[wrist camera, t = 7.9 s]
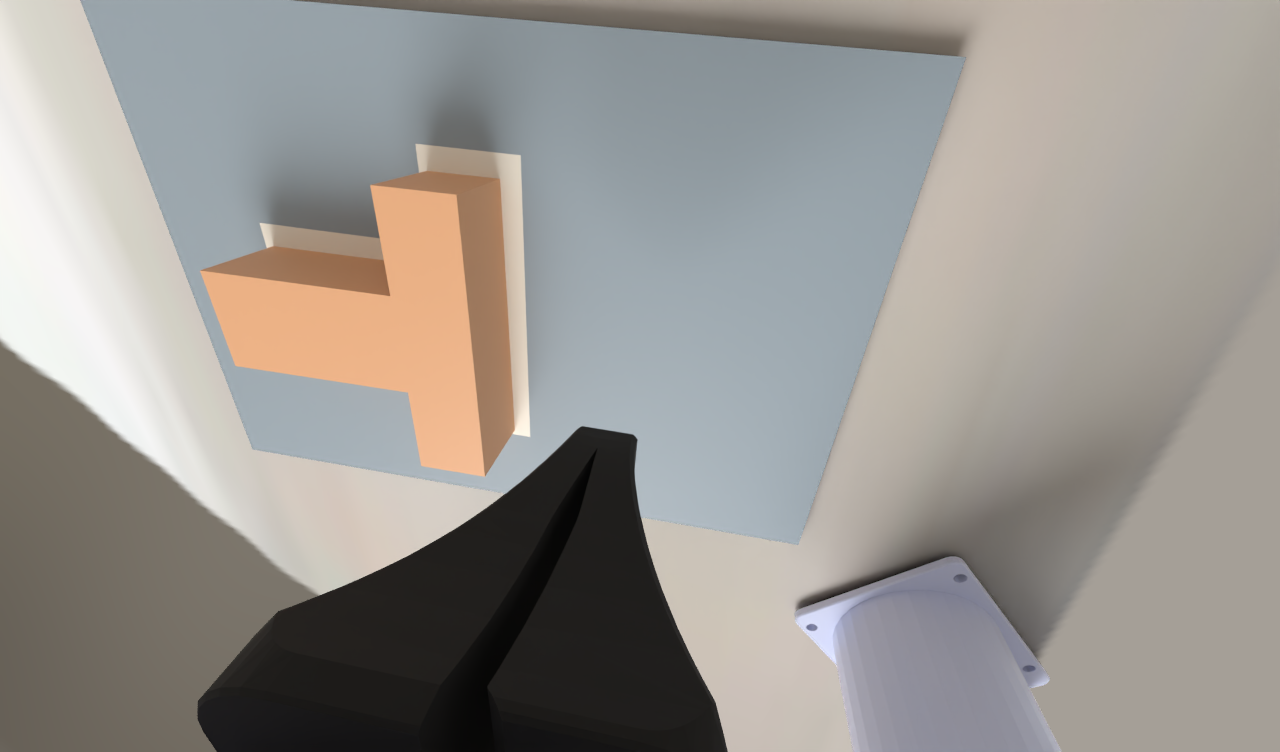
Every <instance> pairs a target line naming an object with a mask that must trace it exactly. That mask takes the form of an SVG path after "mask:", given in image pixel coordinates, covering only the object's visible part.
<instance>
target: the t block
mask: <svg viewBox="0 0 1280 752" xmlns="http://www.w3.org/2000/svg"><path fill="white" fill-rule="evenodd" d="M370 187H371V192H372V198H373V203H374V209H375V214H376V220H377V225H378V231H379V236H380V242H381V247H382V253H383V258H384V260H378V259H370V258H362V257H354V256H346V255H339V254H331V253H323V252H315V251H307V250H300V249H292V248H284V247H276V246H272V247H269V248H266V249H263V250H260V251H257V252H254V253H251V254H248V255H245V256H242V257H239V258H236V259H233V260H230V261H227V262H224V263H221V264H218V265H215V266H212V267H209V268H206V269H203V270H200V272H201V275H202V278H203V280H204V283H205V286H206V288H207V291H208V294H209V296H210V299H211V302H212V305H213V307H214V310H215V313H216V315H217V318H218V321H219V323H220V326H221V329H222V331H223V334H224V337H225V339H226V342H227V345H228V348H229V350H230V353H231V356H232V358H233V361H234V364H235V366H238V367H245V368H251V369H258V370H264V371H271V372H277V373H284V374H290V375H297V376H303V377H310V378H316V379H323V380H329V381H336V382H342V383H349V384H355V385H362V386H368V387H375V388H381V389H388V390H394V391H401V392H407V393H408V396H409V402H410V407H411V413H412V418H413V424H414V429H415V435H416V440H417V446H418V451H419V457H420V462H421V466H424V467H430V468H436V469H441V470H447V471H453V472H459V473H465V474H471V475H477V476H483V477H485V476H486V474H487V473H488V471H489V470H490V468H491V467H492V465H493V464H494V462H495V460H496V459H497V457H498V456H499V454H500V453H501V451H502V449H503V448H504V446H505V445H506V443H507V442H508V440H509V438H510V437H511V435H512V434H513V432H514V431H515V425H514V408H513V391H512V374H511V357H510V340H509V323H508V306H507V289H506V272H505V255H504V238H503V221H502V204H501V187H500V179H497V178H488V177H479V176H470V175H461V174H451V173H442V172H433V171H424V172H420V173H416V174H412V175H408V176H404V177H400V178H396V179H392V180H388V181H384V182H380V183H376V184H372V185H370Z"/></svg>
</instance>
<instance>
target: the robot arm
mask: <svg viewBox="0 0 1280 752" xmlns="http://www.w3.org/2000/svg"><path fill="white" fill-rule="evenodd" d="M637 441H638V439H637V438H636V437H635V436H634V435H633V434H628V433H622V432H616V431H610V430H603V429H597V428H591V427H585V426H581V427H580V428H578V429H577V430H576V431H575V432H574V433H573V434H572V435H571V436H570V437H569V438H568V439H567V440H566V441H565V442H564V443H563V444H562V445H561V446H560V447H559V448H558V449H557V450H556V451H555V452H554V453H552V454H551V455H550V456H549V457H548V458H547V459H546V460H545V461H544V462H543V463H542V464H540V465H539V466H538V467H537V468H536V469H535V470H534V471H532V472H531V473H530V474H529V475H528V476H527V477H526V478H524V479H523V480H522V481H521V482H520V483H518V484H517V485H516V486H515V487H513V488H512V489H511V490H509V491H508V492H507V493H506V494H504V495H503V496H502V497H501V498H499V499H498V500H497V501H495V502H494V503H493V504H491V505H490V506H489V507H487V508H486V509H484V510H483V511H482V512H480V513H479V514H477V515H476V516H474V517H473V518H471V519H470V520H468V521H467V522H465V523H464V524H462V525H461V526H459V527H458V528H456V529H454V530H453V531H451V532H449V533H448V534H446V535H444V536H443V537H441V538H439V539H438V540H436V541H434V542H432V543H430V544H429V545H427V546H425V547H423V548H422V549H420V550H418V551H416V552H414V553H413V554H411V555H409V556H407V557H405V558H403V559H401V560H399V561H397V562H395V563H393V564H391V565H389V566H387V567H385V568H383V569H380V570H378V571H376V572H374V573H372V574H369V575H367V576H365V577H363V578H361V579H359V580H356V581H354V582H352V583H349V584H347V585H345V586H342V587H340V588H337V589H335V590H332V591H330V592H327V593H325V594H322V595H320V596H317V597H315V598H312V599H310V600H307V601H305V602H302V603H299V604H297V605H294V606H292V607H289V608H286V609H284V610H281V611H278V612H277V613H276V614H275V615H274V616H273V618H271V619H270V620H269V621H268V623H266V624H265V626H264V627H263V628H262V629H261V630H260V631H259V632H258V633H257V634H256V635H255V636H254V637H253V638H252V639H251V641H250V642H249V643H248V644H247V645H246V646H245V647H244V649H243V650H242V651H241V652H240V653H239V654H238V655H237V657H236V658H235V659H234V660H233V661H232V662H231V664H230V665H229V666H228V667H227V668H226V669H225V670H224V672H223V673H222V674H221V675H220V676H219V677H218V679H217V680H216V681H215V682H214V683H213V684H212V686H211V687H210V688H209V689H208V690H207V691H206V693H204V695H203V696H202V697H201V698H200V699H199V700H198V721H199V723H200V725H201V727H202V730H203V732H204V733H205V734H206V736H207V738H208V739H209V741H210V742H211V743H212V745H213V747H214V748H215V750H216V751H217V752H728V751H727V747H726V743H725V738H724V734H723V730H722V726H721V722H720V719H719V715H718V711H717V707H716V703H715V701H714V699H713V697H712V695H711V693H710V691H709V690H708V688H707V686H706V684H705V682H704V681H703V679H702V677H701V675H700V673H699V671H698V669H697V667H696V665H695V663H694V661H693V659H692V657H691V655H690V653H689V651H688V649H687V647H686V645H685V643H684V641H683V638H682V636H681V634H680V632H679V630H678V628H677V625H676V623H675V620H674V618H673V615H672V613H671V611H670V608H669V606H668V603H667V601H666V598H665V596H664V593H663V591H662V588H661V586H660V583H659V580H658V577H657V574H656V571H655V568H654V565H653V562H652V558H651V555H650V552H649V548H648V545H647V541H646V537H645V533H644V529H643V524H642V520H641V515H640V510H639V504H638V498H637V490H636V483H635V461H636V451H637ZM958 574H959V575H958ZM795 622H796V623H797V624H798V626H799V627H800V628H801V629H802V630H803V631H804V632H805V633H806V634H807V635H808V636H809V637H810V638H811V639H812V640H813V641H814V642H815V643H816V644H817V645H818V646H819V647H820V648H821V650H822V651H823V652H824V653H825V654H826V655H827V656H828V657H829V658H830V659H831V660H832V661H833V662H834V663H835V664H836V665H837V670H838V675H839V680H840V685H841V691H842V696H843V701H844V706H845V712H846V717H847V722H848V728H849V733H850V738H851V743H852V749H853V752H1062V751H1061V749H1060V747H1059V745H1058V743H1057V741H1056V739H1055V737H1054V735H1053V734H1052V732H1051V729H1050V727H1049V726H1048V723H1047V722H1046V720H1045V718H1044V716H1043V714H1042V712H1041V710H1040V708H1039V706H1038V704H1037V702H1036V700H1035V698H1034V696H1033V694H1032V692H1031V690H1030V688H1033V687H1037V686H1042V685H1045V684H1046V683H1048V682H1049V679H1050V678H1049V676H1048V674H1047V672H1046V671H1045V669H1044V668H1043V666H1042V665H1041V664H1040V662H1039V661H1038V660H1037V658H1036V657H1035V656H1034V654H1033V653H1032V652H1031V650H1030V649H1029V648H1028V646H1027V645H1026V643H1025V642H1024V641H1023V639H1022V638H1021V637H1020V635H1019V634H1018V633H1017V631H1016V630H1015V629H1014V627H1013V626H1012V625H1011V623H1010V622H1009V621H1008V619H1007V618H1006V617H1005V615H1004V614H1003V613H1002V611H1001V610H1000V609H999V607H998V606H997V605H996V603H995V602H994V601H993V599H992V598H991V596H990V595H989V594H988V592H987V591H986V590H985V588H984V587H983V586H982V584H981V583H980V582H979V580H978V579H977V578H976V576H975V575H974V574H973V572H972V571H971V570H970V568H969V567H968V566H967V564H966V563H965V562H964V560H963V559H961V558H959V557H956V556H950V557H946V558H943V559H940V560H937V561H934V562H931V563H929V564H926V565H923V566H920V567H917V568H914V569H912V570H909V571H906V572H903V573H900V574H897V575H895V576H892V577H889V578H886V579H883V580H880V581H878V582H875V583H872V584H869V585H866V586H863V587H860V588H858V589H855V590H852V591H849V592H846V593H843V594H841V595H838V596H835V597H832V598H829V599H826V600H824V601H821V602H818V603H815V604H812V605H809V606H807V607H804V608H801V609H799V610H797V611H796V612H795Z"/></svg>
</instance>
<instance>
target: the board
mask: <svg viewBox="0 0 1280 752" xmlns="http://www.w3.org/2000/svg"><path fill="white" fill-rule="evenodd" d="M80 1H81V3H82V6H83V8H84V11H85V14H86V16H87V19H88V21H89V24H90V27H91V29H92V32H93V34H94V37H95V40H96V42H97V45H98V48H99V50H100V53H101V55H102V58H103V61H104V63H105V66H106V68H107V71H108V74H109V76H110V79H111V81H112V84H113V87H114V89H115V92H116V94H117V97H118V100H119V102H120V105H121V107H122V110H123V113H124V115H125V118H126V120H127V123H128V126H129V128H130V131H131V134H132V136H133V139H134V141H135V144H136V147H137V149H138V152H139V154H140V157H141V160H142V162H143V165H144V167H145V170H146V173H147V175H148V178H149V180H150V183H151V186H152V188H153V191H154V193H155V196H156V199H157V201H158V204H159V206H160V209H161V212H162V214H163V217H164V220H165V222H166V225H167V227H168V230H169V233H170V235H171V238H172V240H173V243H174V246H175V248H176V251H177V253H178V256H179V259H180V261H181V264H182V266H183V269H184V272H185V274H186V277H187V279H188V282H189V285H190V287H191V290H192V292H193V295H194V298H195V300H196V303H197V306H198V308H199V311H200V313H201V316H202V319H203V321H204V324H205V326H206V329H207V332H208V334H209V337H210V339H211V342H212V345H213V347H214V350H215V352H216V355H217V358H218V360H219V363H220V365H221V368H222V371H223V373H224V376H225V378H226V381H227V384H228V386H229V389H230V392H231V394H232V397H233V399H234V402H235V405H236V407H237V410H238V412H239V415H240V418H241V420H242V423H243V425H244V428H245V431H246V433H247V436H248V438H249V441H250V444H251V446H252V449H254V450H259V451H265V452H271V453H276V454H282V455H288V456H293V457H299V458H305V459H311V460H316V461H322V462H328V463H333V464H339V465H345V466H351V467H356V468H362V469H368V470H373V471H379V472H385V473H391V474H396V475H402V476H408V477H413V478H419V479H425V480H430V481H436V482H442V483H448V484H453V485H459V486H465V487H470V488H476V489H482V490H488V491H493V492H499V493H505V494H506V493H507V492H508V491H509V490H511V489H512V488H513V487H515V486H516V485H517V484H518V483H520V482H521V481H522V480H523V479H524V478H526V477H527V476H528V475H529V474H530V473H531V472H532V471H534V470H535V469H536V468H537V467H538V466H539V465H540V464H542V463H543V462H544V461H545V460H546V459H547V458H548V457H549V456H550V455H551V454H552V453H554V452H555V451H556V450H557V449H558V448H559V447H560V446H561V445H562V444H563V443H564V442H565V441H566V440H567V439H568V438H569V437H570V436H571V435H572V434H573V433H574V432H575V431H576V430H577V429H578V428H580V427H581V426H585V427H591V428H597V429H603V430H610V431H616V432H622V433H628V434H633V435H634V436H635V437H636V438H637V439H638V441H637V451H636V461H635V483H636V490H637V498H638V504H639V510H640V515H641V517H642V518H647V519H653V520H659V521H664V522H670V523H676V524H682V525H687V526H693V527H699V528H704V529H710V530H716V531H722V532H727V533H733V534H739V535H744V536H750V537H756V538H762V539H767V540H773V541H779V542H784V543H790V544H796V545H798V544H799V541H800V538H801V535H802V533H803V530H804V527H805V524H806V521H807V518H808V515H809V512H810V509H811V506H812V503H813V501H814V498H815V495H816V492H817V489H818V486H819V483H820V480H821V477H822V474H823V472H824V469H825V466H826V463H827V460H828V457H829V454H830V451H831V448H832V445H833V443H834V440H835V437H836V434H837V431H838V428H839V425H840V422H841V419H842V416H843V413H844V411H845V408H846V405H847V402H848V399H849V396H850V393H851V390H852V387H853V384H854V382H855V379H856V376H857V373H858V370H859V367H860V364H861V361H862V358H863V355H864V352H865V350H866V347H867V344H868V341H869V338H870V335H871V332H872V329H873V326H874V323H875V321H876V318H877V315H878V312H879V309H880V306H881V303H882V300H883V297H884V294H885V292H886V289H887V286H888V283H889V280H890V277H891V274H892V271H893V268H894V265H895V262H896V260H897V257H898V254H899V251H900V248H901V245H902V242H903V239H904V236H905V233H906V231H907V228H908V225H909V222H910V219H911V216H912V213H913V210H914V207H915V204H916V201H917V199H918V196H919V193H920V190H921V187H922V184H923V181H924V178H925V175H926V172H927V170H928V167H929V164H930V161H931V158H932V155H933V152H934V149H935V146H936V143H937V141H938V138H939V135H940V132H941V129H942V126H943V123H944V120H945V117H946V114H947V111H948V109H949V106H950V103H951V100H952V97H953V94H954V91H955V88H956V85H957V82H958V80H959V77H960V74H961V71H962V68H963V65H964V62H965V59H966V57H958V56H946V55H934V54H922V53H910V52H899V51H887V50H875V49H863V48H851V47H839V46H827V45H816V44H804V43H792V42H780V41H768V40H756V39H745V38H733V37H721V36H709V35H697V34H685V33H673V32H662V31H650V30H638V29H626V28H614V27H602V26H590V25H579V24H567V23H555V22H543V21H531V20H519V19H508V18H496V17H484V16H472V15H460V14H448V13H436V12H425V11H413V10H401V9H389V8H377V7H365V6H354V5H342V4H330V3H318V2H306V1H294V0H80ZM424 171H433V172H442V173H451V174H461V175H470V176H479V177H488V178H497V179H500V187H501V204H502V221H503V238H504V255H505V272H506V289H507V306H508V323H509V340H510V357H511V374H512V391H513V408H514V425H515V431H514V432H513V434H512V435H511V437H510V438H509V440H508V442H507V443H506V445H505V446H504V448H503V449H502V451H501V453H500V454H499V456H498V457H497V459H496V460H495V462H494V464H493V465H492V467H491V468H490V470H489V471H488V473H487V474H486V476H485V477H483V476H477V475H471V474H465V473H459V472H453V471H447V470H441V469H436V468H430V467H424V466H421V462H420V457H419V451H418V446H417V440H416V435H415V429H414V424H413V418H412V413H411V407H410V402H409V396H408V393H407V392H401V391H394V390H388V389H381V388H375V387H368V386H362V385H355V384H349V383H342V382H336V381H329V380H323V379H316V378H310V377H303V376H297V375H290V374H284V373H277V372H271V371H264V370H258V369H251V368H245V367H238V366H235V364H234V361H233V358H232V356H231V353H230V350H229V348H228V345H227V342H226V339H225V337H224V334H223V331H222V329H221V326H220V323H219V321H218V318H217V315H216V313H215V310H214V307H213V305H212V302H211V299H210V296H209V294H208V291H207V288H206V286H205V283H204V280H203V278H202V275H201V272H200V270H203V269H206V268H209V267H212V266H215V265H218V264H221V263H224V262H227V261H230V260H233V259H236V258H239V257H242V256H245V255H248V254H251V253H254V252H257V251H260V250H263V249H266V248H269V247H272V246H276V247H284V248H292V249H300V250H307V251H315V252H323V253H331V254H339V255H346V256H354V257H362V258H370V259H378V260H384V258H383V253H382V247H381V242H380V236H379V231H378V225H377V220H376V214H375V209H374V203H373V198H372V192H371V187H370V185H372V184H376V183H380V182H384V181H388V180H392V179H396V178H400V177H404V176H408V175H412V174H416V173H420V172H424Z"/></svg>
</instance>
